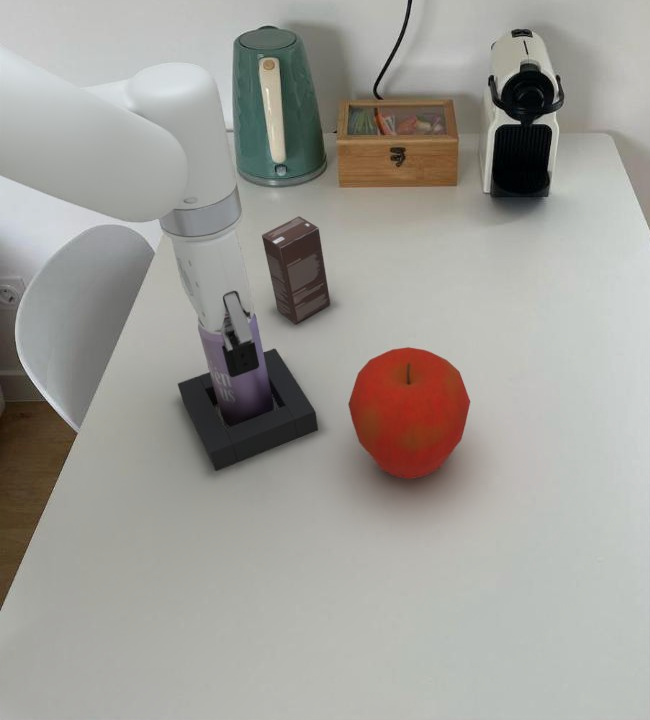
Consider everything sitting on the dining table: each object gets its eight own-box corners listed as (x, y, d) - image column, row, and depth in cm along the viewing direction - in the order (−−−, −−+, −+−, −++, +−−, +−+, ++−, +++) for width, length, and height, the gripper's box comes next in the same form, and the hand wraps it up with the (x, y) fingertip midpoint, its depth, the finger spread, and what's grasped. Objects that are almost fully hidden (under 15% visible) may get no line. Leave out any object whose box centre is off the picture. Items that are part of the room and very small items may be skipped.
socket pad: (215, 471, 87) (210, 452, 85) (183, 401, 95) (177, 383, 93) (318, 429, 91) (315, 411, 89) (278, 366, 99) (275, 347, 97)
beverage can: (285, 408, 93) (266, 306, 83) (253, 442, 90) (229, 340, 79) (245, 390, 96) (221, 289, 85) (211, 423, 92) (183, 321, 82)
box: (310, 290, 109) (299, 214, 101) (331, 305, 107) (321, 228, 99) (274, 310, 107) (259, 233, 98) (294, 326, 104) (281, 248, 96)
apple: (348, 427, 91) (336, 331, 81) (452, 409, 92) (453, 314, 83) (365, 515, 82) (354, 420, 72) (480, 494, 83) (484, 398, 74)
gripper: (134, 175, 78) (175, 318, 90) (186, 266, 67) (226, 416, 79) (208, 155, 81) (239, 297, 93) (271, 239, 69) (297, 389, 81)
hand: (233, 351), depth 86 cm, fingers closed on beverage can, 6 cm apart
